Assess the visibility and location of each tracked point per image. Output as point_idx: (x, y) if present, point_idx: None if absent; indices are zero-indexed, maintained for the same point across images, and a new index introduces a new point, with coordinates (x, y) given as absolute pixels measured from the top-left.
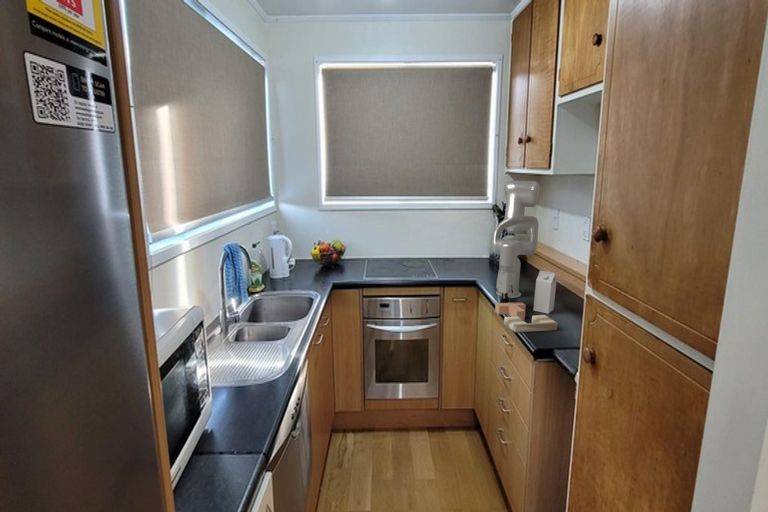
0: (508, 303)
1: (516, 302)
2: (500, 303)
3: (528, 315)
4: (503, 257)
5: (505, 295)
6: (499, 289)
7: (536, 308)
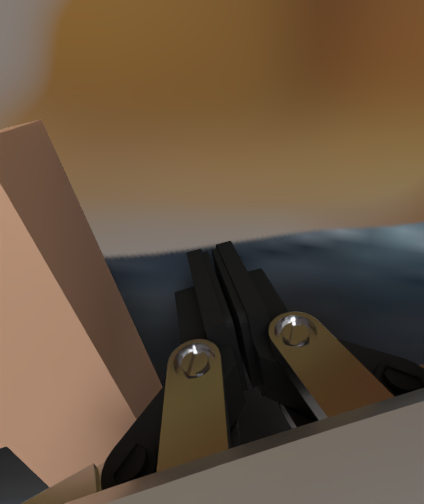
0: (64, 365)
1: None
2: (10, 246)
3: None
4: None
5: (173, 433)
6: (379, 473)
7: None
